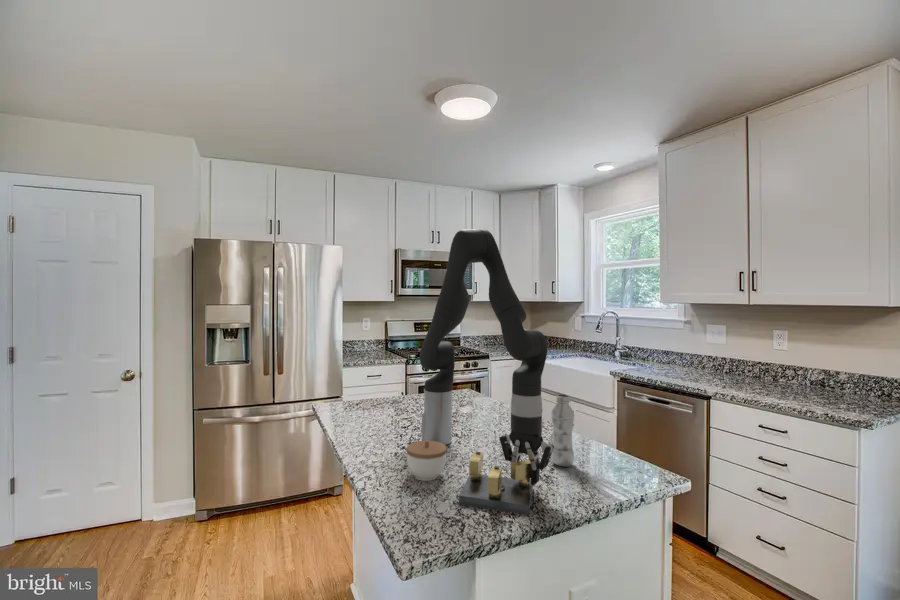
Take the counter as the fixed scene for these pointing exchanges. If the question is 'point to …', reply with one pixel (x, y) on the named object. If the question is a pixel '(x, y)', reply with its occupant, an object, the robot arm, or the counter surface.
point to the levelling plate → (510, 500)
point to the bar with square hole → (495, 482)
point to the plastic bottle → (562, 432)
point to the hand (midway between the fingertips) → (525, 481)
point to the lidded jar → (426, 459)
